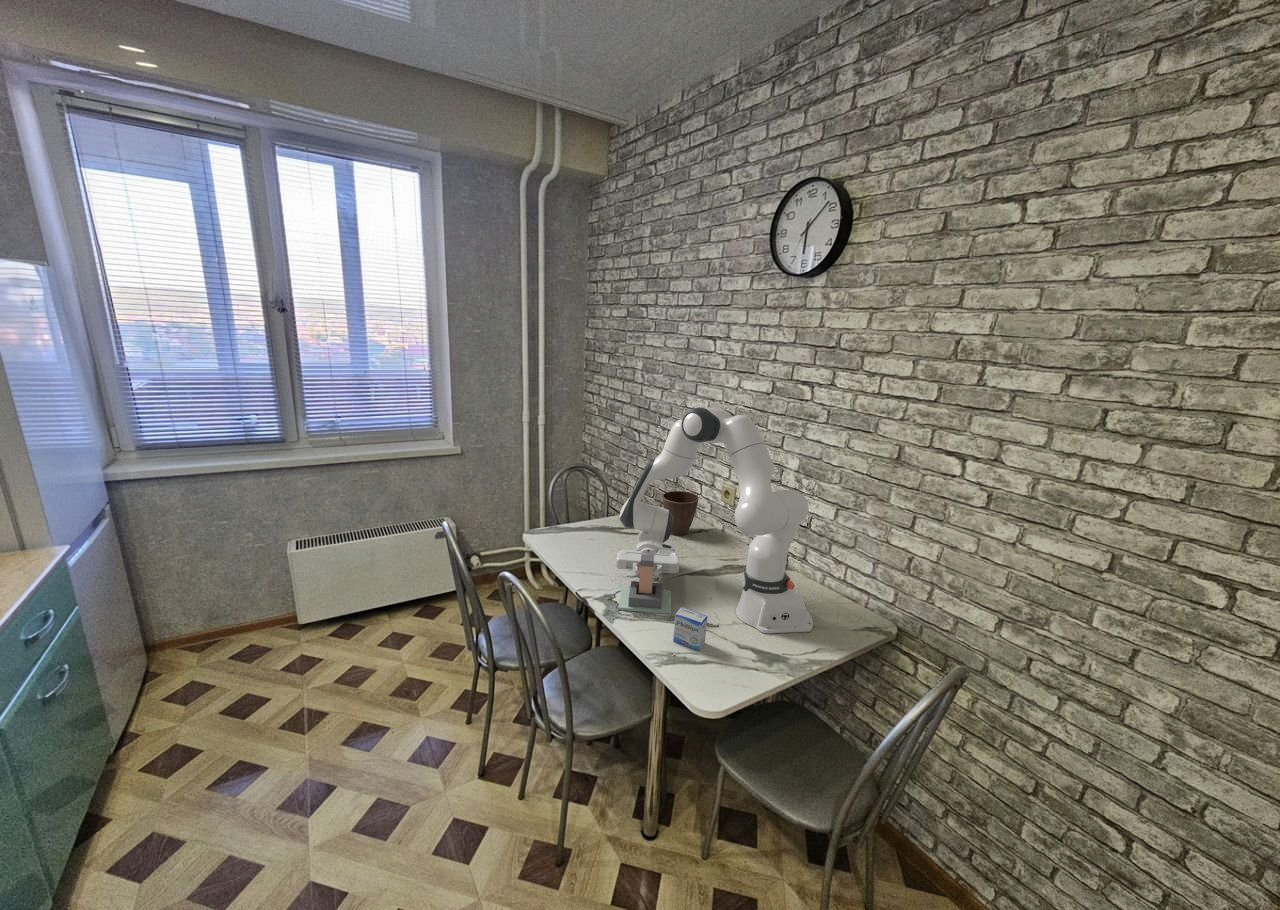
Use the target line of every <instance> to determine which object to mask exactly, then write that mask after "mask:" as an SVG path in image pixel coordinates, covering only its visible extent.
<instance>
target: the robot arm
mask: <svg viewBox="0 0 1280 910" xmlns="http://www.w3.org/2000/svg"><path fill="white" fill-rule="evenodd" d="M704 443H706V444H707V443H708V444H719V443H721V444H723V445H724V447H725V449H726V451H727V453H728V457H729V460H730V461H731V464H732V467H733V470H734V473H735V476H736V478H737V482H738V490H739V500H738V504H737V506H736V507H735V510H734V515H733V516H734V517H733V518H734V523H735V525H736V527H737V529H738V530H739V531H740V532H741V533H742V534H743V535H745V536H748V537H754V538H753V539H752V541H751V542H750V543H749V545H748V549H747V557H746V558H747V559H746V565H745V566H746V567H745V568H744V571H743V576H742V590H741V595H740V599H739V601H738V604H737V606H736V608H735V614H736V616H737V618H739V619H740V621H742V622H743V623H745V624H747V625H748V626H751V627H753V628H755V629H757V630H758V631H759V632H761V633H763V634H783V633H785V634H787V633H806V632H807V633H809V632H811V631H812V630H813V628H814V622H813V618H812V615H811V614H810V612H809V611H808V609H807V608H806V604H805V601H804V599H803V597H802V596H801V594H800V593H799V592H797V591H796V590H795V588H796V587H795V583H794V581H792V580H791V578H790V576H789V575H788V574H787V572H786V564H787V559H788V553H789V550H790V548H791V544H792V541H794V537H795V535H796V532H797V531H798V528H799V527H800V525H801V524H802V522H803V521H804V519H806V518H807V516H808V513H809V509H810V508H809V506H810V505H809V502H808V499H807V498H806V496H804V494H803V493H801V491H798V490H794V489H780V490H776V491H773V489H772V475H774V472H775V464H774V462H773V460H772V457H771V454H770V452H769V450H768V448H767V445H766V443H765V440H764V438H763V436H762V435H761V433H760V431H759V429H758V427H757V426H756V424H755V423H754V421H753V419H751V417H750V416H748V415H745V414H737V415H736V414H735V413H733V412H732V411H730V410H727V409H720V408H716V407H708V406H707V407H702V406H701V407H699V406H698V407H694V408H691V409H689V410H688V411H686V412H685V414H684V415H683V417H682V418H681V419H678V420H677V421H675V422H674V423H673V425H672V427H671V429H670V431H669V433H668V435H667V438H666V440H665V442H664V446H663V448H662V450H661V452H660V453H659V455H658V456H656V457H655V458H651V459H650V460H649V461H648V462H647V463H646V465H645V466H644V469H643V470H642V472H641V474H640V476H639V478H638V479H637V481H636V483H635V485H634V487H633V488H632V491H631V493H630V494H629V496H628V499H626V501H625V502H624V504H623V505H622V507H621V509H620V512H619V520H620V523H621V524H622V525H623V527H624V528H627V529H631V530H637V531H640V532H639V533H638V536H637V541H636V547H635V549H634V550H632V549H622V550H620V551H618V552H617V553H616V560H615V567H616V568H617V569H618V570H628V571H633V572H634V573H635V574H634V575H635V576H640V562H641V554H645V555H654V567H653V577H654V578H656V577H658V575H660V574H662V573H668V574H677V573H679V571H680V559H679V556H678V553H677V552H676V547H675V546H672V545H668V544H666V543H665V542H667V541H668V540H670V537H671V535H672V534H671V532H672V528H673V516H672V514H671V512H670V511H669V510H667V509H664V507H660V506H656V505H652V504H650V503H646V502H643V501H642V499H643V497H644V495H645V493H646V491H647V489H648V488H649V485H650V484H651V483H653V482H654V481H658V480H664V479H675V478H681V477H683V476H685V475H687V474H688V473H689V472H690V471H691V470H692V467H693V465H694V463H695V460H696V457H697V454H698V451H699V448H700V446H701V445H702V444H704Z"/></svg>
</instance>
